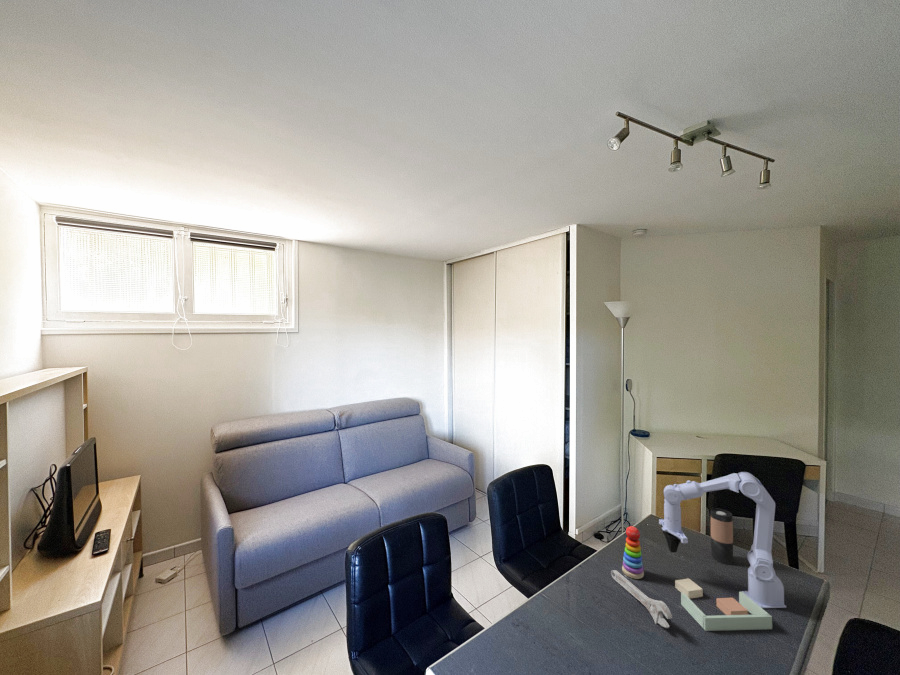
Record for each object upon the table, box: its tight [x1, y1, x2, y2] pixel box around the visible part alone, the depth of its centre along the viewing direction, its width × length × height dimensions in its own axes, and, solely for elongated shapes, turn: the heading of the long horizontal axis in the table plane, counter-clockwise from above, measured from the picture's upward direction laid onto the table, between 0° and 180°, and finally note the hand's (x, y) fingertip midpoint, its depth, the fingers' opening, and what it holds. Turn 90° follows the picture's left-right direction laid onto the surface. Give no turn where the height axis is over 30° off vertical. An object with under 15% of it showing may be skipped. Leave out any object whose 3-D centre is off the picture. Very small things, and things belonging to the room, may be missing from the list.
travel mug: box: [710, 507, 734, 565], centre depth 151 cm, size 8×8×20 cm
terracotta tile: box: [715, 597, 749, 615], centre depth 121 cm, size 6×6×3 cm
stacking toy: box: [621, 525, 645, 580], centre depth 142 cm, size 8×8×19 cm
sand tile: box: [674, 578, 704, 600], centre depth 131 cm, size 6×6×3 cm
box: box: [680, 591, 773, 632], centre depth 119 cm, size 22×12×4 cm, turn 91°
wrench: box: [610, 569, 673, 629], centre depth 126 cm, size 8×2×30 cm
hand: (672, 551), depth 140 cm, fingers closed
